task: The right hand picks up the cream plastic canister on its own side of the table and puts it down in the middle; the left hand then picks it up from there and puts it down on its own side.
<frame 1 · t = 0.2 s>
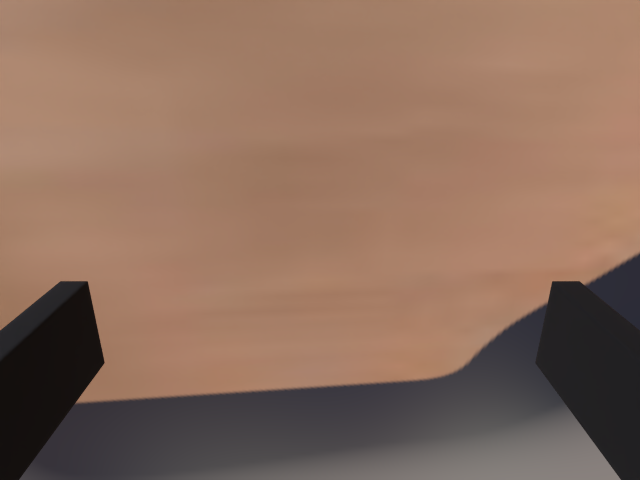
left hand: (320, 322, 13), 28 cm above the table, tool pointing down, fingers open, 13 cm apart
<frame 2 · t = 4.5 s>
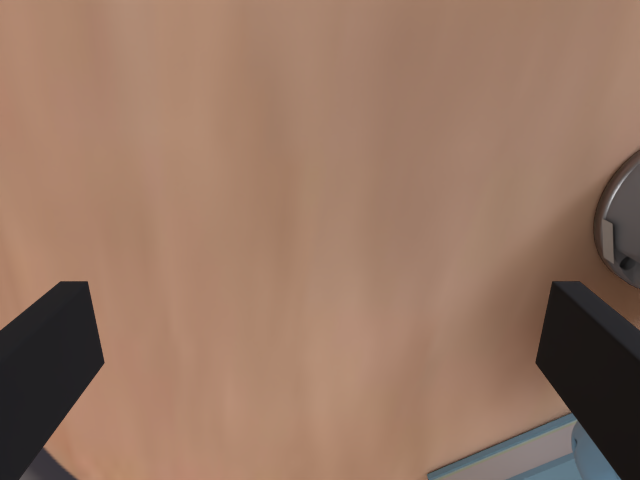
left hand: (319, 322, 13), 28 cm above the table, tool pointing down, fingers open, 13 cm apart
book: (541, 479, 53), on the table
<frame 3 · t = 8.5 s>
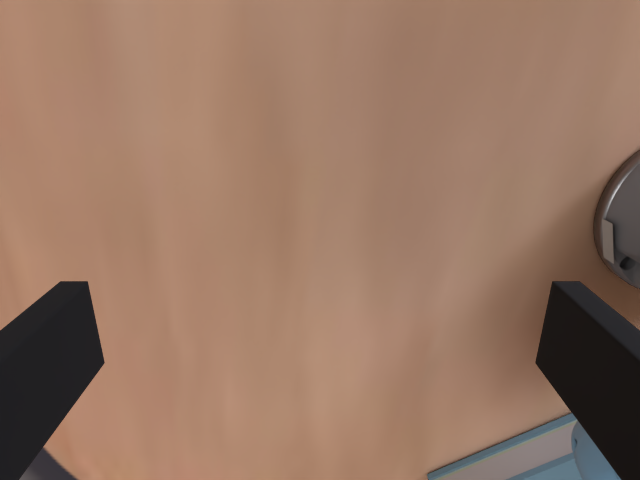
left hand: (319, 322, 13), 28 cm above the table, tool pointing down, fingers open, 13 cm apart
book: (541, 479, 53), on the table
when the right hand's fingers open (3 cm above the table, at t = 12.5 s): canister drops 2 cm, on the table.
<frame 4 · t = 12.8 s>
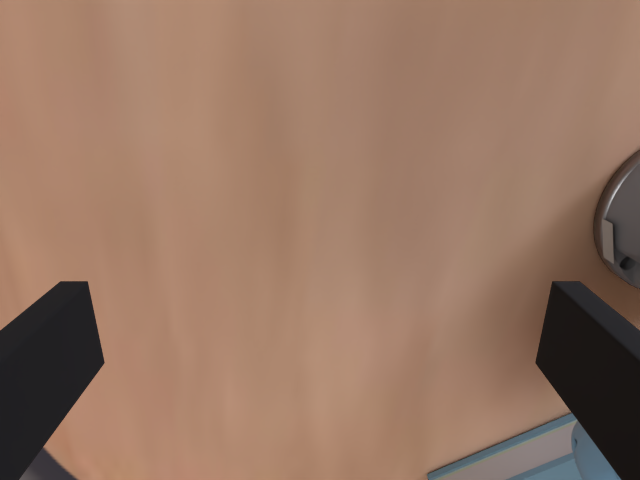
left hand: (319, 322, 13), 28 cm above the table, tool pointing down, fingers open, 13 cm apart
book: (541, 479, 53), on the table
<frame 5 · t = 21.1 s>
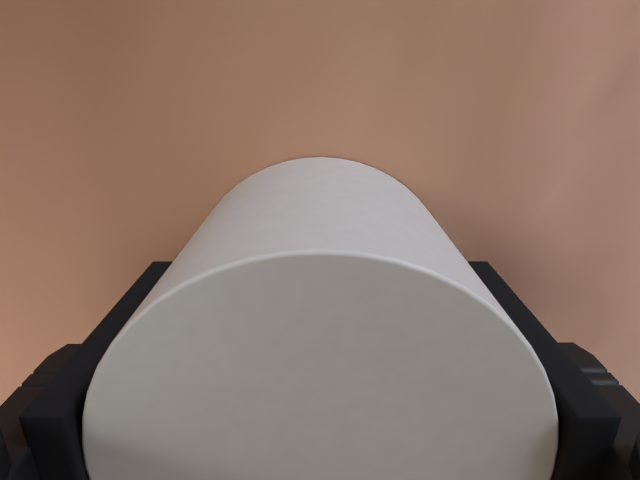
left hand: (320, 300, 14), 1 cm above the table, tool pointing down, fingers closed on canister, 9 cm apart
canister: (320, 283, 15), on the table, touching left hand
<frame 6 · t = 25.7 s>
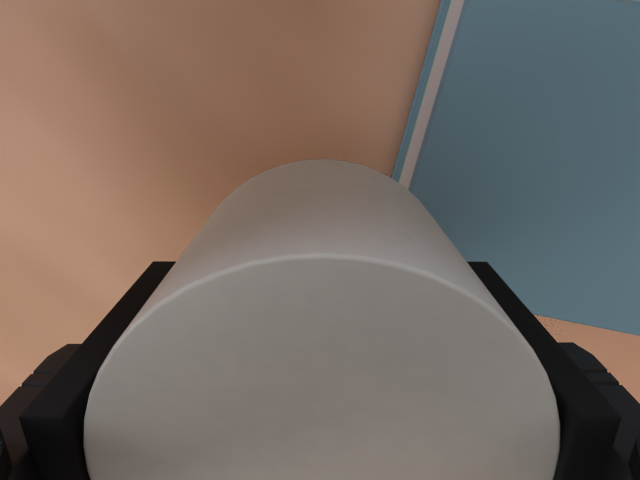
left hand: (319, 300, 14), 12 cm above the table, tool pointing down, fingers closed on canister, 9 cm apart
canister: (320, 284, 15), point 10 cm above the table, touching left hand
book: (580, 74, 23), on the table
when the left hand's fingers open (3 cm above the table, at t = 30.2 s): canister drops 2 cm, on the table.
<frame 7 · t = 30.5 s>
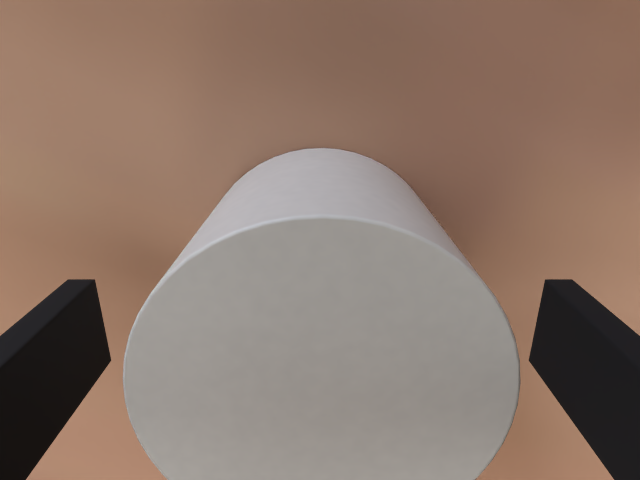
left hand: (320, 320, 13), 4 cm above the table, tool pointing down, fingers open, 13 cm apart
canister: (320, 263, 17), on the table
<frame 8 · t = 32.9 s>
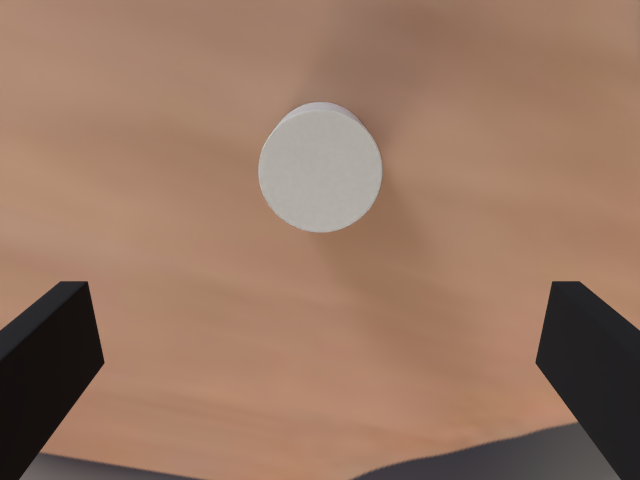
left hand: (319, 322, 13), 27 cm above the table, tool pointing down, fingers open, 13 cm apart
canister: (320, 154, 38), on the table
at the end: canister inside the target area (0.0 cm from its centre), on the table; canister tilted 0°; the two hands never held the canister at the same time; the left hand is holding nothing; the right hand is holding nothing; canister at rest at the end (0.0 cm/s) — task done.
